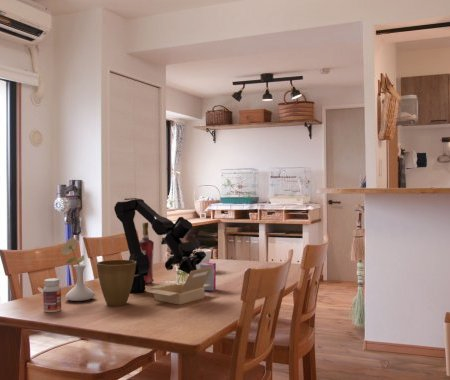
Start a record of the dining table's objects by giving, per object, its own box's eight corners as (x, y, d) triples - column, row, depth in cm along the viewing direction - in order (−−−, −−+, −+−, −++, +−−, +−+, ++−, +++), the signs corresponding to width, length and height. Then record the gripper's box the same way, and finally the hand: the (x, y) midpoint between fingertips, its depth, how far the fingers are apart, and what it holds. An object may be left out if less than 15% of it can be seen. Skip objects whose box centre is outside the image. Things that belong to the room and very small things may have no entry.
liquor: (135, 283, 237) (134, 222, 236) (149, 281, 241) (148, 221, 241) (142, 285, 231) (141, 223, 231) (157, 283, 235) (156, 222, 235)
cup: (190, 269, 273) (190, 248, 273) (213, 269, 272) (213, 249, 272) (185, 273, 261) (185, 251, 261) (209, 273, 259) (209, 252, 259)
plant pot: (125, 309, 187) (124, 265, 187) (89, 307, 191) (88, 264, 191) (143, 300, 201) (143, 259, 201) (109, 298, 205) (109, 258, 205)
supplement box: (213, 291, 216) (212, 264, 216) (199, 291, 217) (199, 264, 217) (216, 289, 222) (215, 262, 222) (202, 288, 223) (202, 262, 223)
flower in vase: (86, 295, 211) (85, 235, 211) (100, 299, 203) (99, 236, 203) (56, 300, 202) (55, 237, 202) (70, 305, 194) (69, 239, 194)
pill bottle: (60, 312, 184) (60, 280, 184) (42, 313, 183) (42, 281, 183) (62, 308, 190) (61, 277, 190) (44, 309, 189) (44, 278, 189)
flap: (181, 291, 194) (190, 270, 191) (201, 286, 203) (211, 266, 200) (182, 292, 194) (191, 271, 191) (203, 287, 203) (212, 267, 200)
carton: (136, 300, 201) (135, 289, 201) (178, 290, 220) (178, 280, 220) (171, 307, 189) (170, 295, 189) (212, 295, 208) (212, 285, 208)
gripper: (170, 234, 192) (192, 267, 186) (202, 230, 207) (224, 261, 201) (155, 253, 197) (176, 286, 191) (188, 248, 212) (208, 278, 206)
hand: (197, 277), depth 197 cm, fingers closed, pressing on flap
